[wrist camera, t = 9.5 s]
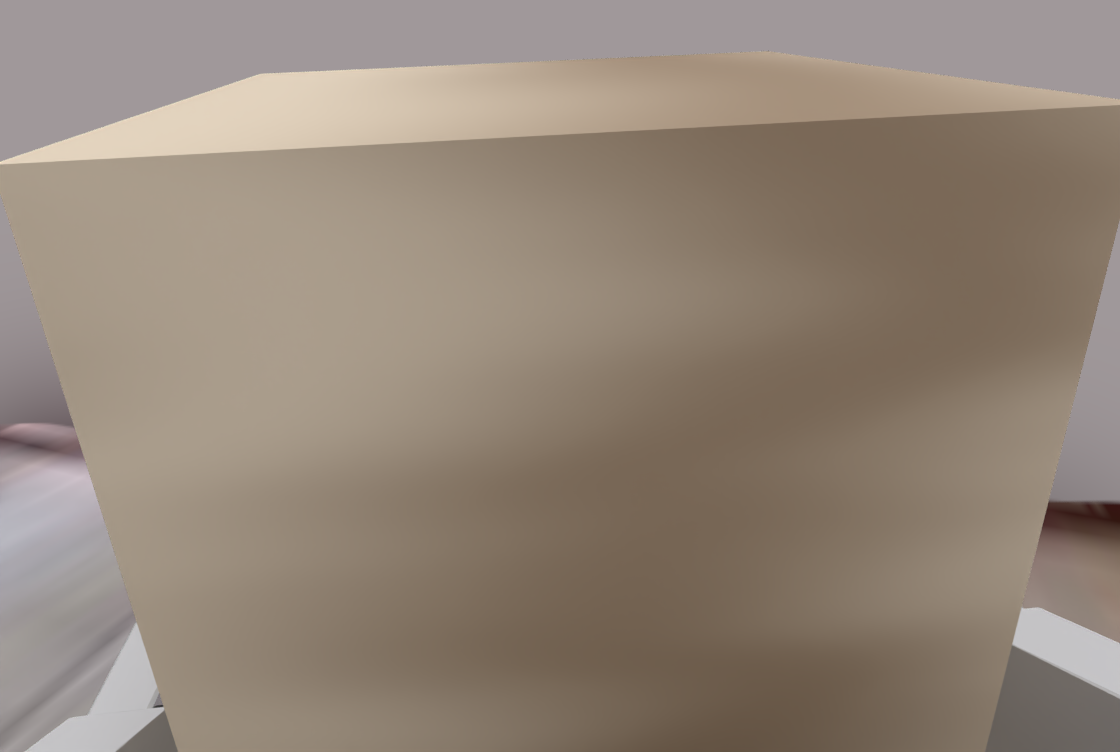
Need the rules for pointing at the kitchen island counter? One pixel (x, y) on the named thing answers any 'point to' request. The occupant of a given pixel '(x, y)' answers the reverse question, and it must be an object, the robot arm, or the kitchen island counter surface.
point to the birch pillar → (576, 395)
